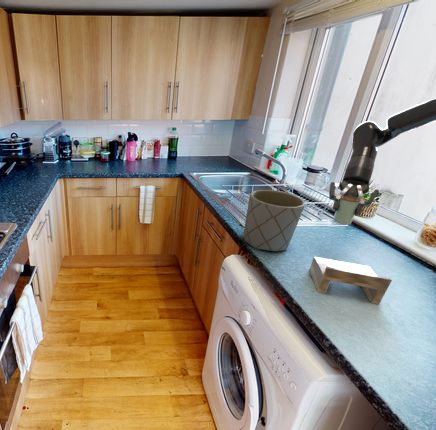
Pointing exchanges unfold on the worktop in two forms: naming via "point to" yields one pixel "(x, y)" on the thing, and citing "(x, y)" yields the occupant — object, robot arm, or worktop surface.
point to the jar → (346, 209)
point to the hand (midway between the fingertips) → (345, 212)
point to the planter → (272, 219)
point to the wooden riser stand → (348, 277)
